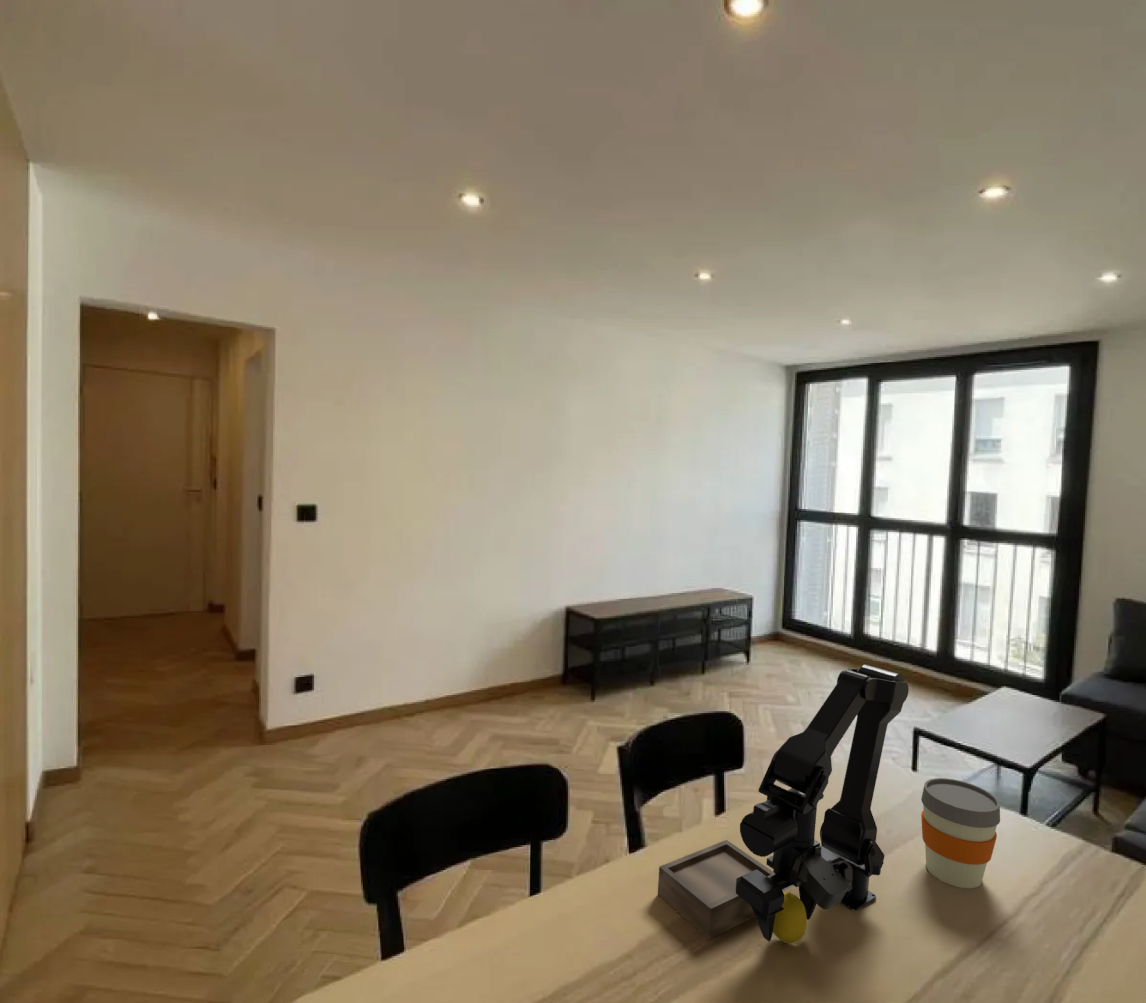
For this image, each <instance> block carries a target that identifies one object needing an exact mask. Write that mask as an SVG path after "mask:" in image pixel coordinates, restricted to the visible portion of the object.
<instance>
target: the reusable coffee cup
mask: <svg viewBox="0 0 1146 1003" xmlns="http://www.w3.org/2000/svg"><path fill="white" fill-rule="evenodd" d="M920 800H921V803H922V805H923V808H922V809H923V810H922V811H921V814H920V816H921V831H922V832H921V833H922V835H921V836H922V840H923V842H924V844H925V846H924V847H925V850H924V851H925V865H926V869H927V871H928V872H929V873H930V874H932V876H933V877H935V878H937V879H938V880H939V881H942V882H943V883H945V884H948V885H950V886H954V887H957V888H961V889H976V888H978V887H980V886H981V885H982V882H983V879H984V875H985V873H986V872H985V871H986V868H987V865H988V863H989V862H991V859H992V856H993V854H994V850H995V846H996V841H997V836H998V835H997V831H996V830H997V826H998V825H999V824H1000V822H1001V807H1000V806H1001V804H1000V801H999V799H998V798H997V797H996V796H995V795H994V794H992V793H991V792H989V791H987V790H986V789H985V788H982V787H980V786H977V785H975V784H972V783H969V782H966V781H964V780H960V779H959V780H958V779H954V778H948V777H947V778H945V777H944V778H943V777H936V778H930V779H928V780H926V781H925V782H924V786H923V790H922V795H921V798H920Z"/></svg>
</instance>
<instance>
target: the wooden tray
mask: <svg viewBox="0 0 1146 1003" xmlns="http://www.w3.org/2000/svg"><path fill="white" fill-rule="evenodd" d="M756 869H757V870H758V871H760V872H761V873H763V874H764V875H765V876H767V877H768V878H769V877H771V876H773V875H775V873H774V872H773V869H770V867H768V866H766V865H764V864H763V863H761V862H760V861H758V860H757V859H755V858H754V857H752V855H749V854H748V853H747V852H745V851H744V850H743V849H741V848H740V847H738V846H736V844H733V843H732V842H731V841H729V840H728V839H726V840H722V841H720V842H717V843H715V844H713V845H710V846H708V847H704V848H703V849H700V850H697V851H695V852H692V853H690V854H687V855H684V856H682V857H680V858H677V859H675V860H672V861H670V862H667V863H665V864H662V865H659V866H658V879H657V880H658V882H657V883H658V885H657V896H658V897H659V898H661V899H662V900H663V902H665V903H666V904H668V905H669V906H670V907H671V908H672V909H673V910H674V911H675V912H676V913H678V915H680V916H681V917H682V918H684V920H685V921H687V922H688V923H689V924H690V925H691V926H693V927H694V928H695V929H696V930H697V931H698V932H699V933H700V934H702V935H703V936H704V937H705V938H706V939H708V940H710V939H712V938H714V937H717V936H719V935H721V934H723V933H725V932H726V931H729V930H731V929H733V928H734V927H737V926H739V925H740V924H742V923H745V922H747V921H749V920H750V919H753V918H754V917H755V914H754V912H753V909H752V907H751V905H750V904H749V903H748V902H746V901H745V900H744V899H742V898H741V897H740V896H738V895H737V894H736V879H737V878H739V877H741V876H743V875H745V874H747V873H750V872H752V871H754V870H756ZM755 918H756V917H755Z"/></svg>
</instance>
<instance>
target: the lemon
mask: <svg viewBox="0 0 1146 1003" xmlns="http://www.w3.org/2000/svg"><path fill="white" fill-rule="evenodd" d="M783 893H784V903H783V904H782V906H781V907H783V908H784V910H782V911H780V912H778V913H776V916H775V922H774V928H773V933H772V934H774V936H776V938H777V939H779V940H780V941H781V942H783V943H784V944H794V943H797V942H799V941H800V940H801V939H802V938H803V937H804V935H805V933H806V930H807V926H808V925H807V924H808V920H807V916H806V910H805V907H804V905H803V903H802V901H801V900H800V897H798V896H797V895H796V894H794V893H792V892H790V891H788V892H784V891H783Z"/></svg>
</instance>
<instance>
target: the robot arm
mask: <svg viewBox="0 0 1146 1003" xmlns="http://www.w3.org/2000/svg"><path fill="white" fill-rule="evenodd" d="M908 695H909V684H908V683H907V682H905V679H904V676H903V675H902V674H900V673H898V672H894V671H891V670H887V669H883V668H880V667H877V666H874V665H869V664H868V663H867V664H863V665H862V666H861V667H860V668H852V667H851V668H850V667H849V668H847V670H842V671H841V672H840V673H839V674H838V677H837V679H836V685H835V686H834V687H833V689H832V690H831V692H830V693H829V695H828V696H827V698H826V699H825V701H824V703H822V705H821V706H820V708H819V709H818V711H817V712H816V713H815V715H814V717H813V718H812V719H811V721H810V723H808V726H806V728H805V729H804V730H803V731H802V732H799V733H797V734H794V735H792V736H790V737H788V738H787V739H786V740H785V742H784V743H783V744H782V745H781V746H780V747H779V748H778V750H776V751H775V753H774V754H773V756H772V758H771V761H770V763H769V765H768V767H767V769H766V772H765V774H764V777H763V778H762V781H761V783H760V785H759V788H758V793H760V794H762V795H764V796H765V797H766V800H765V801H762V802H759V803H757V804H755V805H754V806H753V810H752V812H750V813H748V814H745V815H744V816H743V818H742V820H741V822H740V824H739V833H740V837H741V839H742V842H743V844H744V846H745V847H746V848H747V850H749V851H750V852H751V853H752V854H754V855H755V856H757V857H760V858H761V857H763V858H764V857H765V858H766V857H767V856H768V857H767V858H766V865H767V867H768V868H771V870H772V871H773V872H774V873H775V875H773V876H771V877H769V878H768V877H767V876H765V875H764V874H763V873H761V872H760V871H758V870H757V869H756V870H754V871H752V872H750V873H747V874H745V875H743V876H741V877H739V878H737V879H736V894H737V895H738V896H740V897H741V898H742V899H744V900H745V901H746V902H748V903H749V904H750V905H751V907H752V909H753V912H754V914H755V919H756V921H757V924H758V927H759V930H760V932H761V934H762V937H763V938H764V940H766V941H767V942H770V941H772V937H773V934H774V933H773V928H774V922H775V916H776V913H778V912H780V911H782V910H784V908H783V907H781V906H782V904H783V903H784V893H783V892H784V891H786V890H788V889H790V888H792V887H795V888H798V892H799V893H798V894H799V899H800V900H801V901H802V903H803V905H804V907H805V910H806V916H807V921H808V920H811V918H812V915H813V913H814V910H816V907H817V906H818V907H819V908H820V909H822V910H825V911H826V910H827V911H828V910H829V909H830V908H831V907H833V906H835V905H837V904H840V903H842V904H843V905H844V906H846V907H848V908H849V909H850V910H852V911H857V910H860V909H861V908H863V907H865V906H866V905H867V904H870V903H871V902H873V901H875V900H877V894H876V893H873V892H872V891H870V890H869V886H870V877H871V876H880V875H881V870H882V868H883V865H884V860H885V853H884V851H882V849H881V847H880V846H879V844H878V843H877V842H876V841H877V834H878V827H877V824H876V821H875V818H874V815H873V812H872V810H871V808H872V804H873V803H872V802H873V798H874V792H875V788H876V784H877V779H878V773H879V770H880V769H879V768H880V763H881V759H882V753H883V748H884V744H885V739H886V733H887V728H888V725H889V723H890V722H892V721H893V720H894V719H895V718H896V717H897V716H898V715H899V714H900V713H901V712H902V709H903V706H904V703H905V702H906V700H907V698H908ZM855 718H856V722H855V726H854V731H853V737H852V741H851V746H850V751H849V756H848V760H847V764H846V769H845V775H844V780H843V784H842V789H841V794H840V799H839V801H837V802H836V803H835V804H834V805H833V806H832V807H831V808H829V807H827V809H826V810H825V812H824V816H823V822H822V824H821V826H820V830H819V837H820V839H819V840H820V842H819V841H818V840H816V839H815V836H816V835H815V834H816V824H817V822H816V821H817V809H818V804H819V801H821V800H823V799H824V792H825V790H826V788H827V785H828V784H829V778H830V776H831V774H832V772H833V765H832V756H833V753H834V751H835V750H836V748H837V747H838V745H839V743H840V742H841V740H842V739H843V738H844V736H845V734H846V733H847V731H848V730H849V728H850V726H851V725H852V724H853V722H854V720H855ZM775 782H778V783H780V784H783V785H785V786H787V787H790V788H789V789H785V788H783V787H781V786H779V785H777V784H775ZM771 854H772V856H770V855H771ZM766 865H765V866H766Z"/></svg>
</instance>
